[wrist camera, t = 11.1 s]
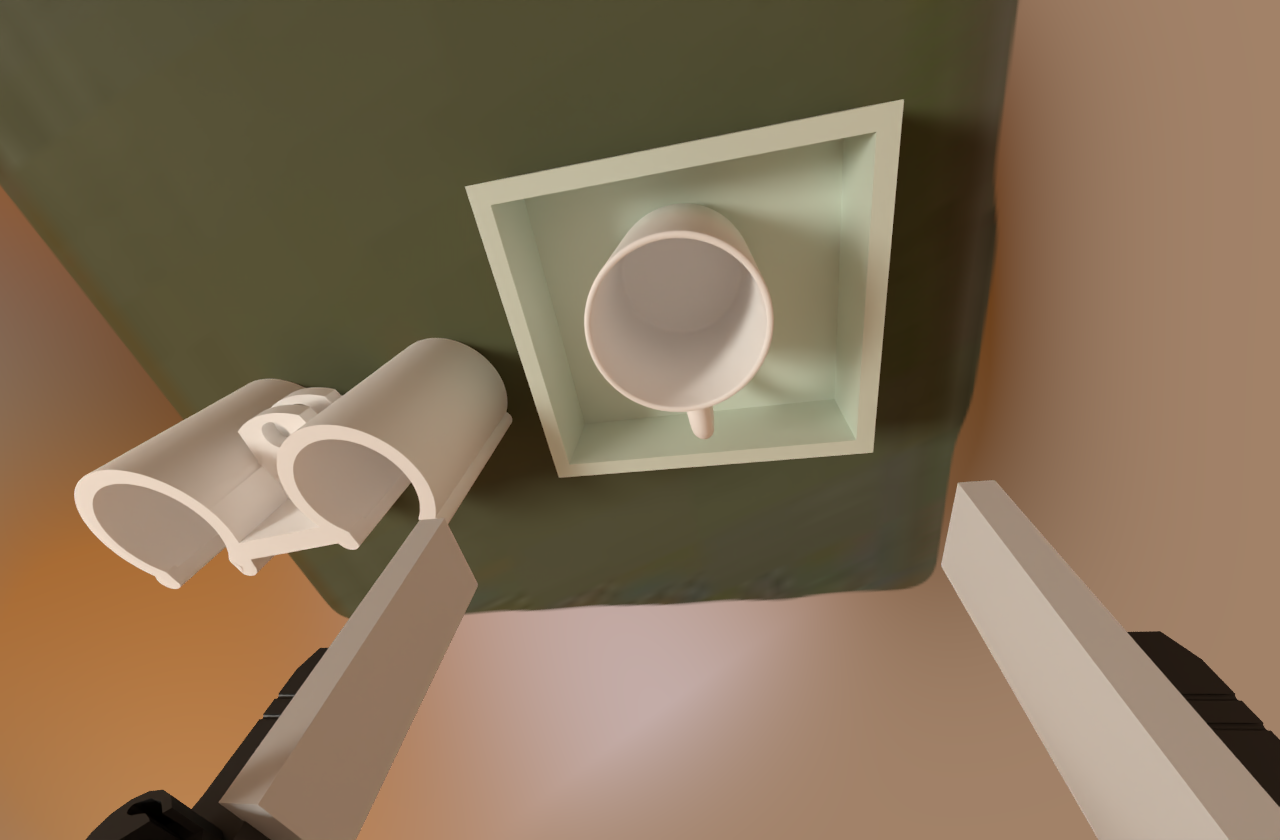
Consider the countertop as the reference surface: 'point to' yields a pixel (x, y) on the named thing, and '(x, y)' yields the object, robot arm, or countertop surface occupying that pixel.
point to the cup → (680, 314)
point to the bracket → (300, 464)
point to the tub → (783, 251)
